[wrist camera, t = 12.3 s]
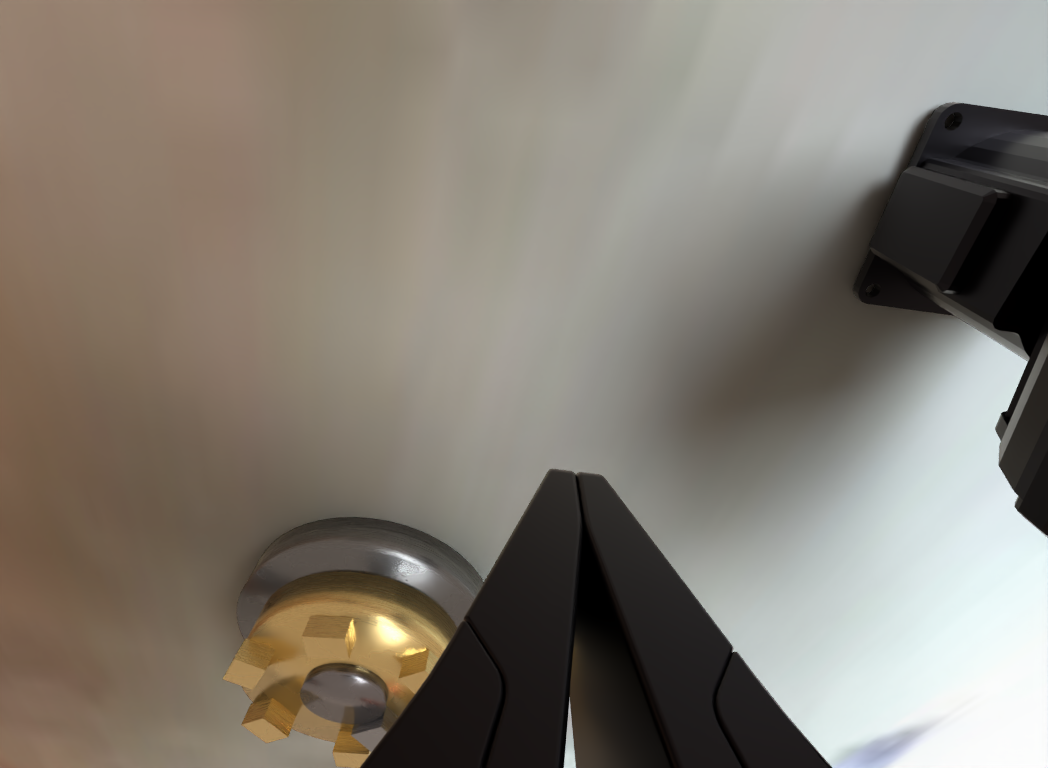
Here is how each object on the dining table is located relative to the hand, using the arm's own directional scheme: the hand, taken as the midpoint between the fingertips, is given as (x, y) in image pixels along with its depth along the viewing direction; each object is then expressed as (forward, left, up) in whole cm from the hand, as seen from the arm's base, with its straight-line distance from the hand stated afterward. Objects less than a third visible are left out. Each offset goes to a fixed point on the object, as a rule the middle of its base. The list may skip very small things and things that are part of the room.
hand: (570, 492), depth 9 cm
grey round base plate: (+7, +21, -13) cm, 26 cm away
